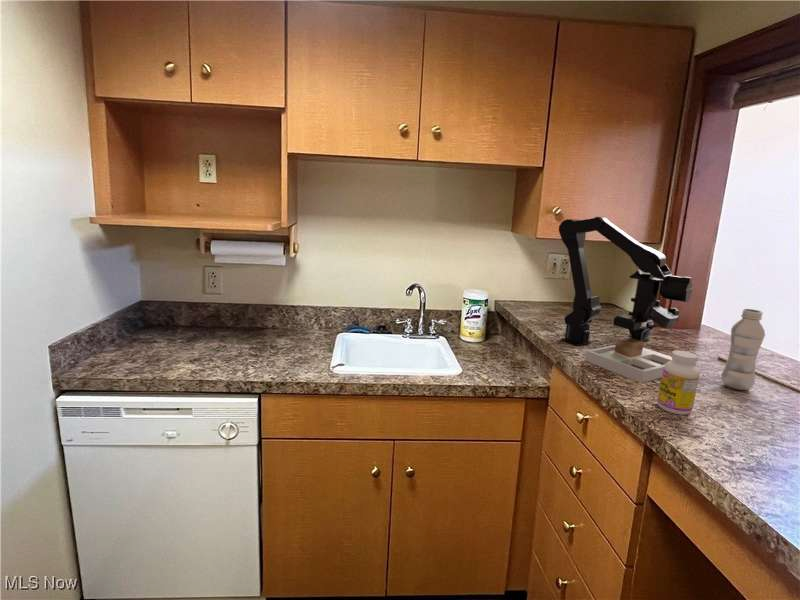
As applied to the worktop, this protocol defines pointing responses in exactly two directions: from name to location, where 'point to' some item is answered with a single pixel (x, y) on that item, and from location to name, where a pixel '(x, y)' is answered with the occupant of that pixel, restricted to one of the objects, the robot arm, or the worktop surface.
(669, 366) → the supplement bottle
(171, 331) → the worktop surface
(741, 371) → the plastic bottle
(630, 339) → the walnut block
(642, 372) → the trap box
